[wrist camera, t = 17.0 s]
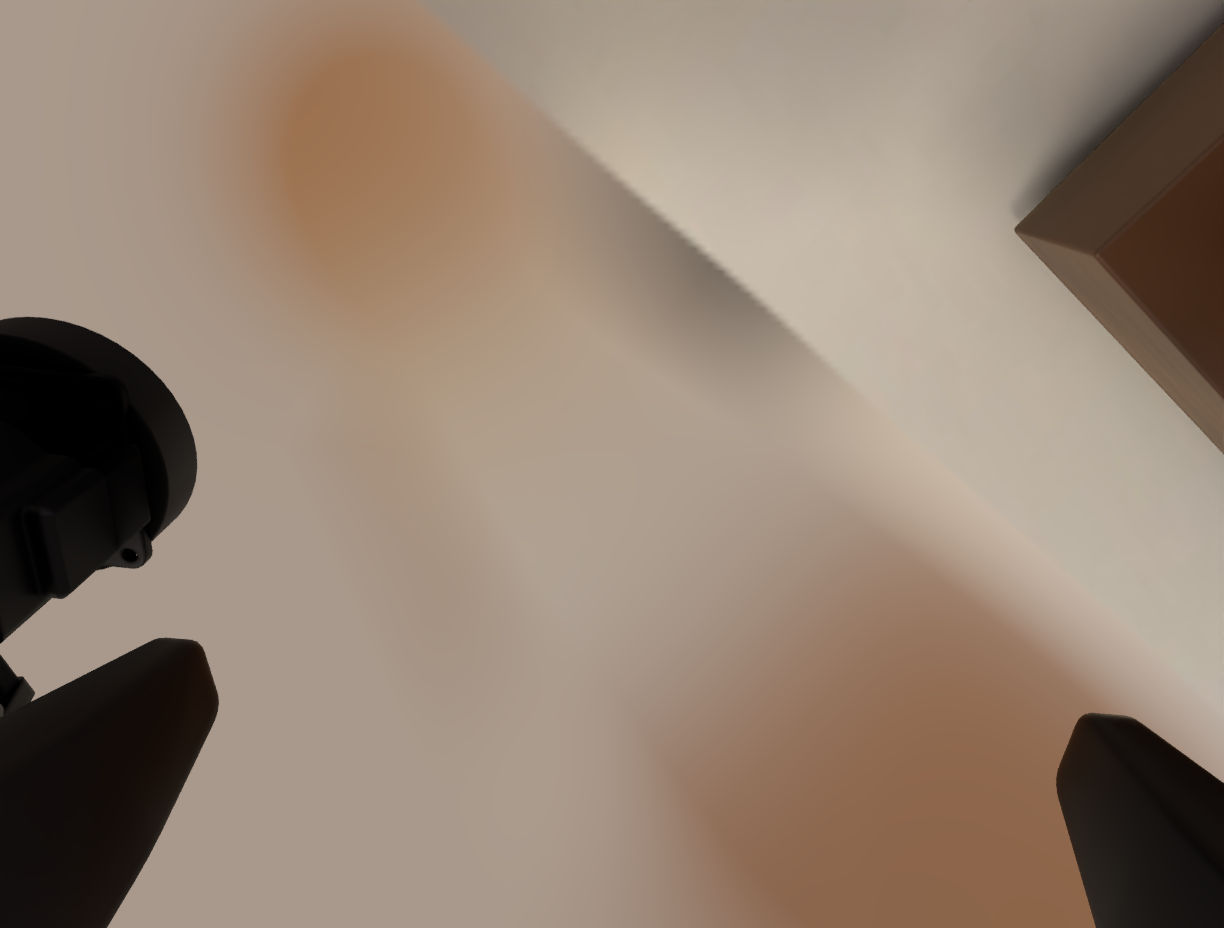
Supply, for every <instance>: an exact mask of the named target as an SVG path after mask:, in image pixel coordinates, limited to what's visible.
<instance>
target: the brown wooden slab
mask: <svg viewBox="0 0 1224 928" xmlns="http://www.w3.org/2000/svg"><path fill="white" fill-rule="evenodd" d="M1014 230H1015V233H1016V234H1017V235H1018V236H1019V237H1020V238H1021V239H1022V240H1023V241H1024V242H1025V243H1026V244H1027V246H1028V247H1029V248H1030V249H1031V250H1032V251H1033V252H1034V253H1035V254H1036V255H1037V256H1038V257H1039V258H1040V259H1041V260H1042V261H1043V263H1044V264H1045V265H1046V266H1047V267H1048V268H1049V269H1050V270H1051V271H1052V272H1053V273H1054V274H1055V275H1056V276H1057V277H1058V278H1059V280H1060V281H1061V282H1062V283H1063V284H1064V285H1065V286H1066V287H1067V288H1068V289H1069V290H1070V291H1071V292H1072V293H1073V294H1074V295H1075V297H1076V298H1077V299H1078V300H1079V301H1080V302H1081V303H1082V304H1083V305H1084V306H1085V307H1086V308H1087V309H1088V310H1089V311H1090V312H1091V314H1092V315H1093V316H1094V317H1095V318H1096V319H1097V320H1098V321H1099V322H1100V323H1101V324H1102V325H1103V326H1104V327H1105V328H1106V329H1107V331H1108V332H1109V333H1110V334H1111V335H1112V336H1113V337H1114V338H1115V339H1116V340H1117V341H1118V342H1119V343H1120V344H1121V345H1122V346H1123V348H1124V349H1125V350H1126V351H1127V352H1128V353H1129V354H1130V355H1131V356H1132V357H1133V358H1134V359H1135V360H1136V361H1137V362H1138V363H1139V365H1140V366H1141V367H1142V368H1143V369H1144V370H1145V371H1146V372H1147V373H1148V374H1149V375H1150V376H1151V377H1152V378H1153V379H1154V380H1155V382H1156V383H1157V384H1158V385H1159V386H1160V387H1161V388H1162V389H1163V390H1164V391H1165V392H1166V393H1167V394H1168V395H1169V396H1170V397H1171V399H1172V400H1173V401H1174V402H1175V403H1176V404H1177V405H1178V406H1179V407H1180V408H1181V409H1182V410H1183V411H1184V412H1185V413H1186V414H1187V416H1188V417H1189V418H1190V419H1191V420H1192V421H1193V422H1194V423H1195V424H1196V425H1197V426H1198V427H1199V428H1200V429H1201V430H1202V431H1203V433H1204V434H1205V435H1206V436H1207V437H1208V438H1209V439H1210V440H1211V441H1212V442H1213V443H1214V444H1215V445H1216V446H1217V447H1218V449H1219V450H1220V451H1221V452H1222V453H1223V454H1224V23H1223V24H1222V25H1221V26H1220V27H1219V28H1218V29H1217V30H1216V31H1215V32H1214V33H1213V34H1212V35H1211V36H1210V37H1209V38H1208V39H1207V40H1206V41H1205V42H1204V43H1203V44H1202V45H1201V46H1200V47H1199V48H1198V49H1197V50H1196V51H1195V52H1194V53H1193V54H1192V55H1191V56H1190V57H1189V58H1188V59H1187V60H1186V61H1185V62H1184V63H1183V64H1182V65H1181V66H1180V67H1179V68H1178V69H1176V70H1175V71H1174V72H1173V73H1172V74H1171V75H1170V76H1169V77H1168V78H1167V79H1166V80H1165V81H1164V82H1163V83H1162V84H1161V85H1160V86H1159V87H1158V88H1157V89H1156V90H1155V91H1154V92H1153V93H1152V94H1151V95H1150V96H1149V97H1148V98H1147V99H1146V100H1145V101H1144V102H1143V103H1142V104H1141V105H1140V106H1139V107H1138V108H1137V109H1136V110H1135V111H1134V112H1133V113H1132V114H1131V115H1129V116H1128V117H1127V118H1126V119H1125V120H1124V121H1123V122H1122V123H1121V124H1120V125H1119V126H1118V127H1117V128H1116V129H1115V130H1114V131H1113V132H1112V133H1111V134H1110V135H1109V136H1108V137H1107V138H1106V139H1105V140H1104V141H1103V142H1102V143H1101V144H1100V145H1099V146H1098V147H1097V148H1096V149H1095V150H1094V151H1093V152H1092V153H1091V154H1090V155H1089V156H1088V157H1087V158H1086V159H1085V160H1083V161H1082V162H1081V163H1080V164H1079V165H1078V166H1077V167H1076V168H1075V169H1074V170H1073V171H1072V172H1071V173H1070V174H1069V175H1068V176H1067V177H1066V178H1065V179H1064V180H1063V181H1062V182H1061V183H1060V184H1059V185H1058V186H1057V187H1056V188H1055V189H1054V190H1053V191H1052V192H1051V193H1050V194H1049V195H1048V196H1047V197H1046V198H1045V199H1044V200H1043V201H1042V202H1041V203H1040V204H1039V205H1038V206H1036V207H1035V208H1034V209H1033V210H1032V211H1031V212H1030V213H1029V214H1028V215H1027V216H1026V217H1025V218H1024V219H1023V220H1022V221H1021V222H1020V223H1019V224H1018V225H1017V226H1016V227H1015V229H1014Z"/></svg>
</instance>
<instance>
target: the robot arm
mask: <svg viewBox="0 0 1224 928" xmlns="http://www.w3.org/2000/svg"><path fill="white" fill-rule="evenodd" d="M101 386H102V387H105V388H106V389H107V390H108V391H109V392H110V394H111V398H110V397H107V396H106V395H105V394H104V393H103V392H102V390H101ZM150 519H151V517H150V511H149V504H148V498H147V491H146V485H145V478H144V472H143V465H142V459H141V453H140V451H139V449H138V448H137V446H136V441H135V434H134V428H133V422H132V415H131V409H130V402H129V396H128V391H127V388H126V385H125V384H124V383H123V382H122V381H121V380H120V379H119V378H117V377H116V376H114V375H111V374H108V373H100V372H92V371H83V370H75V369H67V368H59V367H51V366H43V365H35V364H27V363H18V362H10V361H2V360H0V643H2V642H3V641H4V640H5V639H6V638H7V637H8V636H9V635H11V634H12V633H13V632H14V631H15V630H16V629H17V628H18V627H20V626H21V625H22V624H23V623H24V622H25V621H27V620H28V619H29V618H30V617H31V616H32V615H33V614H34V613H35V612H37V611H38V610H39V609H40V608H41V607H42V606H43V605H45V604H46V603H47V602H48V601H49V600H50V599H51V598H58V599H63V598H65V597H67V596H68V595H69V594H70V593H71V592H73V591H74V590H75V589H76V588H77V587H78V586H79V585H80V584H81V583H83V582H84V581H85V580H86V579H87V578H88V577H89V576H90V575H91V574H93V573H94V572H95V571H96V570H97V569H98V568H99V567H100V566H101V565H102V566H112V567H121V568H130V569H136V568H140V567H142V566H143V565H144V564H145V563H146V562H147V561H148V560H149V559H150V558H151V556H152V552H153V550H152V543H151V537H150V530H149V524H148V523H149V522H150ZM129 549H131V550H133V551H134V552H136V553H137V555H134V554H133V553H131V552H130V550H129ZM34 695H35V692H34V690H33V689H32V688H31V686H30V685H29V684H28V683H27V681H26V680H25V679H24V677H17V676H16V674H15V673H14V672H13V670H12V669H11V668H10V667H9V665H8V664H7V663H6V661H5V660H4V659H3V657H2V656H1V655H0V928H107V927H108V925H109V923H110V922H111V920H112V918H113V917H114V915H115V913H116V912H117V910H118V908H119V907H120V905H121V903H122V902H123V900H124V898H125V897H126V895H127V893H128V892H129V890H130V888H131V887H132V885H133V883H134V882H135V880H136V878H137V876H138V875H139V873H140V871H141V869H142V868H143V865H144V864H145V862H146V861H147V859H148V857H149V855H150V853H151V851H152V849H153V847H154V845H155V843H156V842H157V839H158V838H159V836H160V834H161V832H162V830H163V828H164V825H165V823H166V821H167V819H168V817H169V815H170V813H171V811H172V809H173V807H174V805H175V803H176V801H177V798H178V796H179V794H180V792H181V790H182V788H183V786H184V783H185V782H186V780H187V778H188V775H189V773H190V771H191V769H192V767H193V765H194V763H195V761H196V759H197V757H198V754H199V753H200V750H201V748H202V746H203V744H204V742H205V740H206V738H207V736H208V734H209V732H210V730H211V727H212V725H213V723H214V721H215V718H216V715H217V712H218V705H219V702H218V701H219V699H218V693H217V690H216V686H215V684H214V680H213V677H212V674H211V671H210V667H209V664H208V661H207V658H206V655H205V652H204V649H203V647H202V646H201V645H200V644H199V643H198V642H196V641H193V640H187V639H175V638H158V639H155V640H153V641H151V642H148V643H146V644H144V645H142V646H140V647H138V648H136V649H134V650H132V651H130V652H128V653H127V654H125V655H123V656H121V657H119V658H117V659H115V660H113V661H111V662H109V663H107V664H105V665H103V666H101V667H99V668H97V669H95V670H93V671H91V672H89V673H87V674H85V675H83V676H81V677H79V678H77V679H75V680H74V681H72V682H69V683H67V684H65V685H63V686H61V687H60V688H57V689H55V690H53V691H52V692H50V693H48V694H46V695H44V696H42V697H40V698H38V699H36V700H34V701H32V702H31V700H32V698H33V696H34ZM1056 786H1057V794H1058V798H1059V802H1060V805H1061V809H1062V812H1063V816H1064V819H1065V822H1066V826H1067V830H1068V833H1069V836H1070V840H1071V843H1072V847H1073V850H1074V854H1075V857H1076V860H1077V864H1078V867H1079V871H1080V874H1081V878H1082V881H1083V885H1084V888H1085V891H1086V895H1087V898H1088V902H1089V905H1090V908H1091V912H1092V916H1093V919H1094V922H1095V926H1096V928H1224V783H1223V782H1221V781H1220V780H1219V779H1217V778H1216V777H1215V776H1213V775H1212V774H1210V773H1209V772H1208V771H1206V770H1205V769H1204V768H1202V767H1201V766H1199V765H1198V764H1197V763H1195V762H1194V761H1193V760H1191V759H1190V758H1189V757H1187V756H1186V755H1184V754H1183V753H1182V752H1180V751H1179V750H1177V749H1176V748H1175V747H1173V746H1172V745H1171V744H1169V743H1168V742H1166V741H1165V740H1164V739H1162V738H1161V737H1160V736H1158V735H1157V734H1156V733H1154V732H1153V731H1151V730H1150V729H1149V728H1147V727H1146V726H1145V725H1143V724H1142V723H1140V722H1139V721H1137V720H1136V719H1134V718H1131V717H1128V716H1124V715H1112V714H1099V713H1088V714H1085V715H1083V716H1082V717H1081V718H1080V719H1079V720H1078V722H1077V723H1076V725H1075V728H1074V730H1073V733H1072V735H1071V738H1070V740H1069V743H1068V745H1067V748H1066V751H1065V753H1064V755H1063V758H1062V760H1061V763H1060V766H1059V768H1058V772H1057V779H1056Z"/></svg>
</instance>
